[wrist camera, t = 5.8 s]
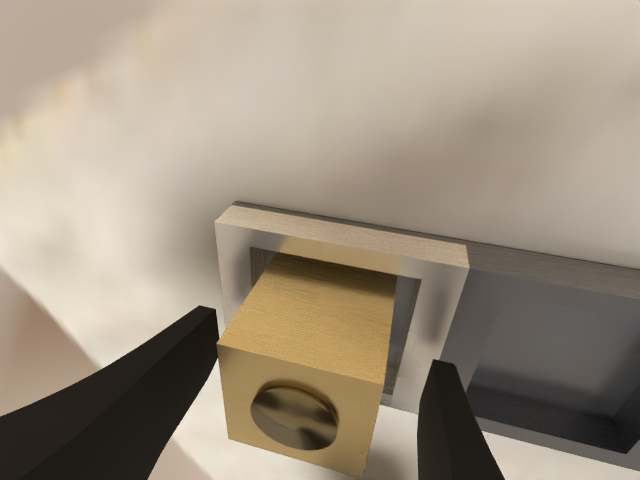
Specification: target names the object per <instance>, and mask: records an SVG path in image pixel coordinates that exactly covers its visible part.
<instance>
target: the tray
mask: <svg viewBox="0 0 640 480" xmlns="http://www.w3.org/2000/svg"><path fill="white" fill-rule="evenodd" d="M214 225H215V235H216V244H217V253H218V263H219V272H220V282H221V291H222V300H223V310H224V319H225V329H226V328H227V327H228V325H229V324H230V322H231V321H232V319H233V318H234V316H235V315H236V313H237V311H238V310H239V308H240V307H241V305H242V304H243V302H244V301H245V299H246V298H247V296H248V295H249V293H250V292H251V290H252V289H253V287H254V286H255V284H256V282H257V281H258V279H259V278H260V276H261V275H262V273H263V272H264V270H265V269H266V267H267V266H268V264H269V263H270V261H271V260H272V258H273V257H274V255H275V253H276V252H281V253H287V254H292V255H297V256H302V257H307V258H313V259H318V260H323V261H328V262H333V263H339V264H344V265H349V266H354V267H360V268H365V269H370V270H375V271H380V272H386V273H391V274H396V275H397V283H396V291H395V300H394V308H393V316H392V324H391V332H390V340H389V349H388V357H387V365H386V373H385V381H384V387H383V392H382V396H381V400H380V405H384V406H388V407H392V408H396V409H399V410H403V411H407V412H411V413H415V414H419V402H420V398H421V395H422V392H423V389H424V386H425V382H426V379H427V376H428V373H429V370H430V367H431V364H432V361H433V359H436V360H440V361H444V362H449V363H453V364H454V365H455V366H456V367H457V370H458V373H459V376H460V379H461V382H462V385H463V388H464V391H465V393H466V396H467V398H468V401H469V403H470V406H471V409H472V411H473V413H474V416H475V418H476V420H477V423H478V425H479V427H480V429H481V431H485V432H489V433H493V434H497V435H501V436H504V437H508V438H512V439H516V440H520V441H524V442H528V443H532V444H536V445H539V446H543V447H547V448H551V449H555V450H559V451H563V452H567V453H571V454H574V455H578V456H582V457H586V458H590V459H594V460H598V461H602V462H606V463H609V464H613V465H617V466H621V467H625V468H629V469H633V470H637V471H640V270H635V269H630V268H624V267H618V266H612V265H606V264H600V263H594V262H588V261H583V260H577V259H571V258H565V257H559V256H553V255H547V254H541V253H535V252H530V251H524V250H518V249H512V248H506V247H500V246H494V245H488V244H482V243H477V242H471V241H465V240H459V239H453V238H447V237H441V236H435V235H429V234H424V233H418V232H412V231H406V230H400V229H394V228H388V227H382V226H376V225H371V224H365V223H359V222H353V221H347V220H341V219H335V218H329V217H324V216H318V215H312V214H306V213H300V212H294V211H288V210H282V209H276V208H271V207H265V206H259V205H253V204H247V203H241V202H234V203H233V204H232V205H231V206H230V207H229V208H228V209H227V210H226V211H225V212H224V213H223V214H222V215H221V216H220V217H219V218H218V219H216V220H215V221H214Z"/></svg>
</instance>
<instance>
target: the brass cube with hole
mask: <svg viewBox="0 0 640 480" xmlns="http://www.w3.org/2000/svg"><path fill="white" fill-rule="evenodd" d="M396 283H397V275H396V274H391V273H386V272H380V271H375V270H370V269H365V268H360V267H354V266H349V265H344V264H339V263H333V262H328V261H323V260H318V259H313V258H307V257H302V256H297V255H292V254H287V253H281V252H276V253H275V255H274V257H273V258H272V260H271V261H270V263H269V264H268V266H267V267H266V269H265V270H264V272H263V273H262V275H261V276H260V278H259V279H258V281H257V282H256V284H255V286H254V287H253V289H252V290H251V292H250V293H249V295H248V296H247V298H246V299H245V301H244V302H243V304H242V305H241V307H240V308H239V310H238V311H237V313H236V315H235V316H234V318H233V319H232V321H231V322H230V324H229V325H228V327H227V328H226V330H225V331H224V333H223V334H222V336H221V337H220V339H219V340H218V342H217V352H218V360H219V368H220V376H221V383H222V391H223V399H224V407H225V415H226V423H227V430H228V438H229V439H231V440H234V441H238V442H241V443H244V444H248V445H251V446H254V447H258V448H261V449H265V450H268V451H271V452H275V453H278V454H282V455H285V456H288V457H292V458H295V459H298V460H302V461H305V462H309V463H312V464H315V465H319V466H322V467H325V468H329V469H332V470H336V471H339V472H342V473H346V474H349V475H352V476H356V477H359V478H363V474H364V470H365V466H366V461H367V457H368V453H369V448H370V444H371V440H372V435H373V431H374V426H375V422H376V418H377V413H378V409H379V405H380V400H381V396H382V392H383V387H384V381H385V373H386V365H387V357H388V349H389V340H390V332H391V324H392V316H393V308H394V300H395V291H396Z"/></svg>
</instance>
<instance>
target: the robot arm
mask: <svg viewBox="0 0 640 480" xmlns="http://www.w3.org/2000/svg"><path fill="white" fill-rule="evenodd" d="M218 340H219V332H218V324H217V315H216V309H213V308H209V307H204V306H200V305H199V306H198V307H196V308H195V309H193V310H192V311H190V312H189V313H188V314H186V315H185V316H183V317H182V318H180V319H179V320H177V321H176V322H174V323H173V324H172V325H170V326H169V327H167V328H166V329H164V330H163V331H161V332H160V333H158V334H157V335H155V336H154V337H152V338H151V339H150V340H148V341H147V342H145V343H144V344H142V345H141V346H139V347H137V348H136V349H134V350H133V351H131V352H129V353H128V354H126V355H124V356H123V357H121V358H120V359H118V360H116V361H115V362H113V363H111V364H110V365H108V366H106V367H105V368H103V369H101V370H99V371H97V372H96V373H94V374H92V375H90V376H88V377H86V378H84V379H83V380H81V381H79V382H77V383H75V384H73V385H71V386H69V387H67V388H65V389H63V390H60V391H58V392H56V393H54V394H52V395H50V396H48V397H45V398H43V399H41V400H39V401H37V402H34V403H32V404H30V405H28V406H25V407H23V408H20V409H18V410H16V411H13V412H11V413H8V414H6V415H3V416H1V417H0V480H147V479H148V477H149V475H150V473H151V472H152V470H153V468H154V466H155V464H156V462H157V460H158V458H159V456H160V454H161V452H162V450H163V449H164V447H165V445H166V444H167V442H168V441H169V439H170V437H171V436H172V434H173V433H174V431H175V430H176V428H177V426H178V425H179V423H180V422H181V420H182V419H183V417H184V415H185V414H186V412H187V411H188V409H189V408H190V406H191V405H192V403H193V401H194V400H195V398H196V397H197V395H198V393H199V392H200V390H201V389H202V387H203V386H204V384H205V382H206V381H207V379H208V377H209V375H210V373H211V371H212V369H213V367H214V365H215V363H216V361H217V358H218V352H217V342H218ZM417 449H418V480H505V479H504V477H503V475H502V473H501V471H500V469H499V467H498V465H497V463H496V461H495V459H494V457H493V455H492V453H491V451H490V449H489V447H488V445H487V443H486V440H485V438H484V436H483V434H482V431H481V429H480V427H479V425H478V423H477V420H476V418H475V416H474V413H473V411H472V409H471V406H470V403H469V401H468V398H467V396H466V393H465V391H464V388H463V385H462V382H461V379H460V376H459V373H458V370H457V367H456V366H455V365H454V364H453V363H449V362H444V361H440V360H436V359H433V361H432V364H431V367H430V370H429V373H428V376H427V379H426V382H425V386H424V389H423V392H422V395H421V398H420V402H419V415H418V429H417Z"/></svg>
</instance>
